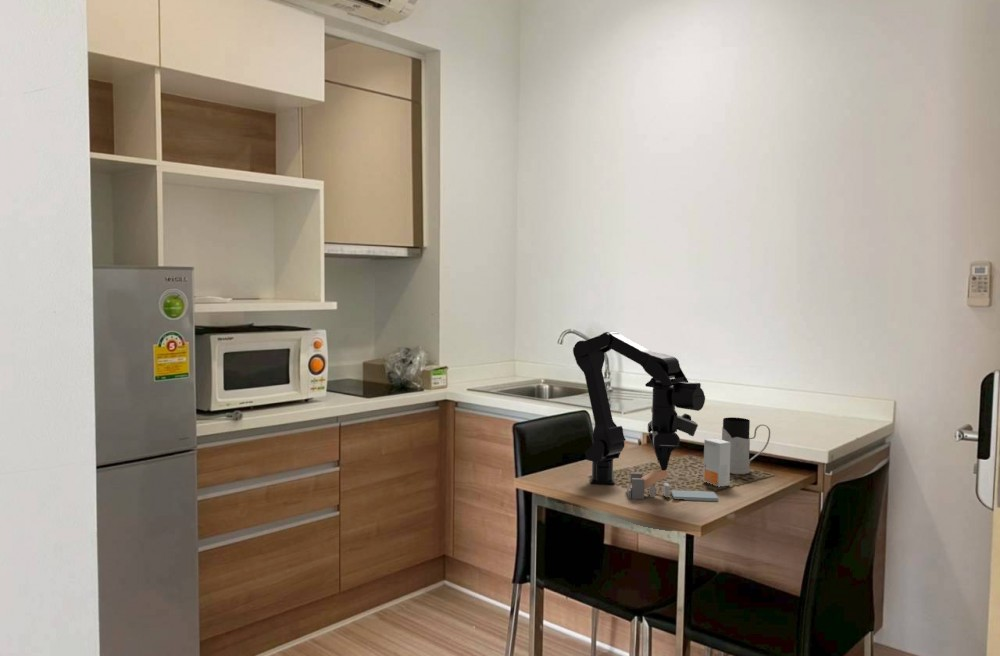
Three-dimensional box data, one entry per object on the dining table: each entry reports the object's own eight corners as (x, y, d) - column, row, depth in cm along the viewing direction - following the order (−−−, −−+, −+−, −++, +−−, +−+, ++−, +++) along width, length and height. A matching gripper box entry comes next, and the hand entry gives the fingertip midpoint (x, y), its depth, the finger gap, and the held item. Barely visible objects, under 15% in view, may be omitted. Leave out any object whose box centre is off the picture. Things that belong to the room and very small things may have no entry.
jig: (627, 490, 205) (627, 472, 204) (667, 492, 204) (667, 473, 203) (628, 498, 198) (629, 479, 197) (670, 500, 197) (670, 480, 196)
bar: (633, 490, 203) (629, 484, 203) (666, 472, 202) (663, 465, 202) (634, 494, 199) (630, 488, 199) (668, 475, 198) (664, 469, 198)
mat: (671, 493, 203) (671, 490, 203) (714, 494, 202) (714, 491, 202) (673, 499, 197) (673, 496, 197) (718, 501, 196) (718, 498, 196)
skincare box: (702, 482, 215) (703, 439, 214) (713, 480, 217) (715, 437, 216) (718, 487, 209) (719, 443, 209) (730, 485, 212) (731, 441, 211)
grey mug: (716, 466, 234) (717, 416, 233) (764, 467, 233) (766, 417, 232) (723, 473, 225) (724, 422, 224) (773, 474, 224) (774, 423, 223)
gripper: (701, 412, 189) (699, 476, 190) (690, 401, 207) (688, 458, 208) (655, 411, 190) (653, 474, 191) (648, 399, 209) (646, 457, 210)
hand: (662, 465), depth 200 cm, fingers open, 9 cm apart
